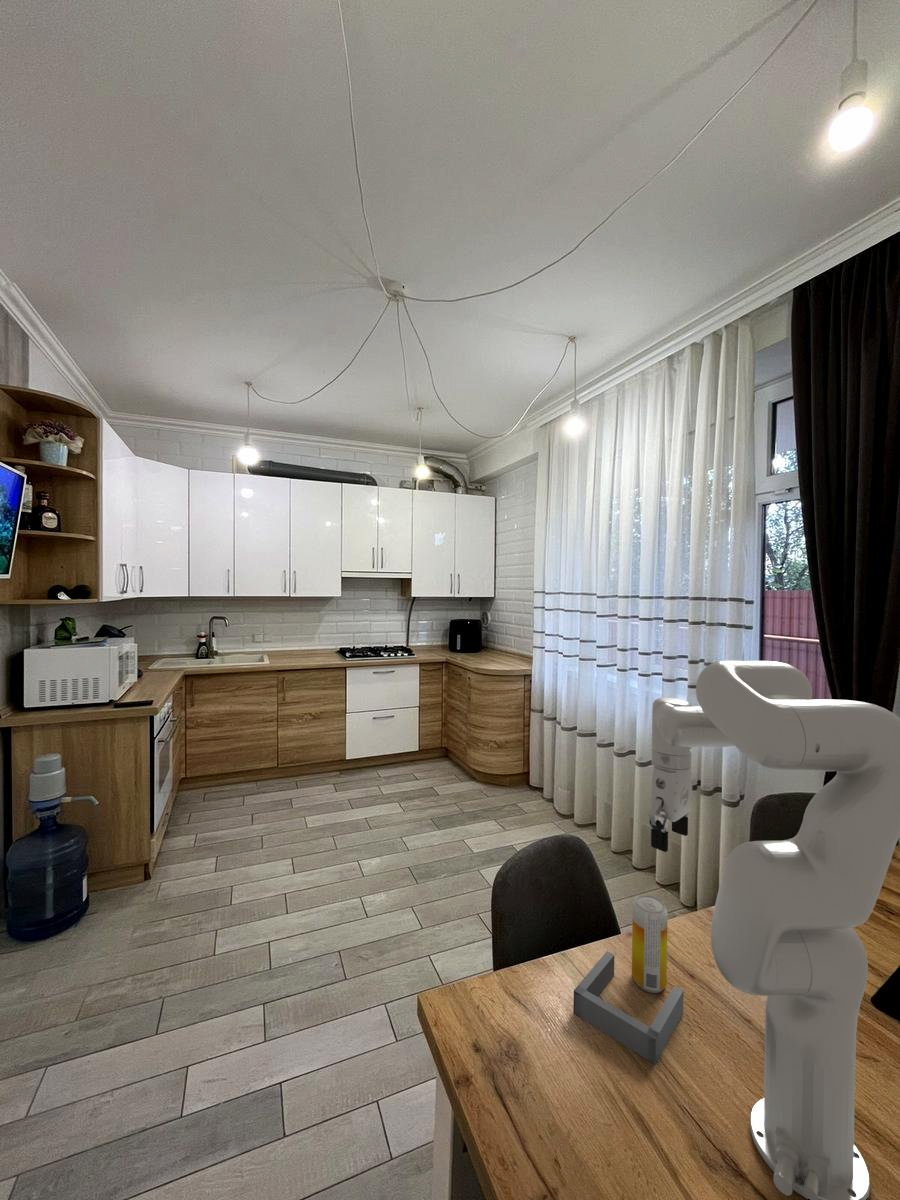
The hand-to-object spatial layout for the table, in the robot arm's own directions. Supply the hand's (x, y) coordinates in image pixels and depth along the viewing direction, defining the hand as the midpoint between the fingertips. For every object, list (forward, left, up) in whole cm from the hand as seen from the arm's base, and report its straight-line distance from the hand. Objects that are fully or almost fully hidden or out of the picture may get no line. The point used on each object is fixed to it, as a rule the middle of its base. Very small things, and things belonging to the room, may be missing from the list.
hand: (669, 840), depth 103 cm
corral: (-22, -1, -22) cm, 31 cm away
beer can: (-13, -1, -22) cm, 26 cm away
